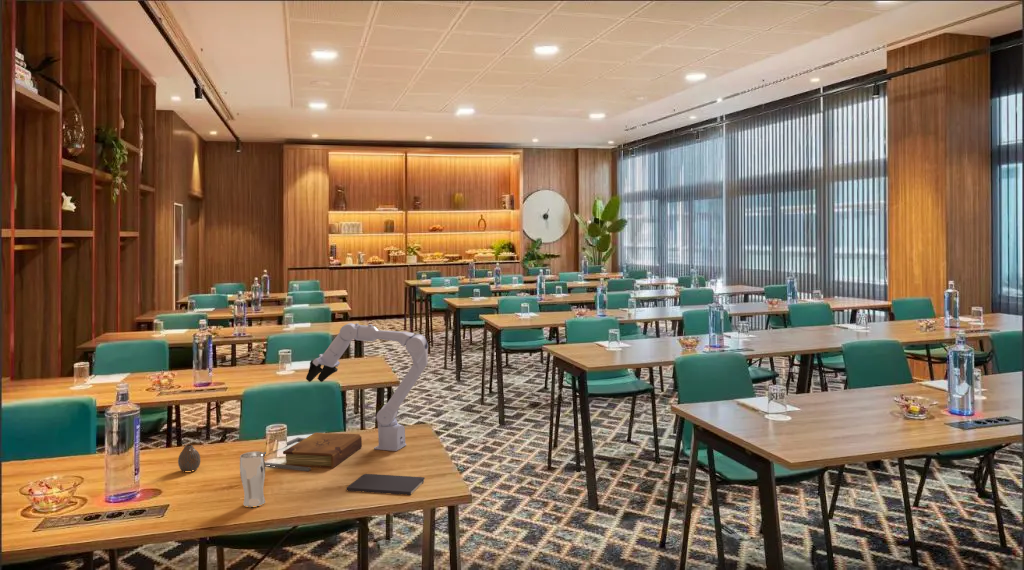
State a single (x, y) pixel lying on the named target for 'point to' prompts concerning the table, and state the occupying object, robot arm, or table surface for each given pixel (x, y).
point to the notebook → (386, 484)
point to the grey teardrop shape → (189, 459)
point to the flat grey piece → (290, 465)
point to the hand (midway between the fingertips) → (313, 380)
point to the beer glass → (253, 477)
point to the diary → (323, 450)
